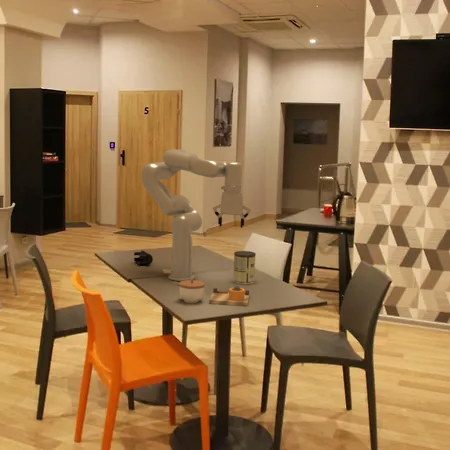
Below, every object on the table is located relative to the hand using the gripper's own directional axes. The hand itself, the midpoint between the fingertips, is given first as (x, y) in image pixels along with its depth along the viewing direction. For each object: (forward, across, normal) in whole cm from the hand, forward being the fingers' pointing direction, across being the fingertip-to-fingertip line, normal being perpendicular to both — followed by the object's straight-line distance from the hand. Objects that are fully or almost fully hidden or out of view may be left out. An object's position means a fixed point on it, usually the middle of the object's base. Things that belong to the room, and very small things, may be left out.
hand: (231, 226), depth 291 cm
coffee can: (+28, +6, +12) cm, 32 cm away
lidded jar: (+28, -13, -28) cm, 42 cm away
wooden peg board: (+28, +3, -23) cm, 37 cm away
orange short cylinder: (+27, +6, -25) cm, 37 cm away
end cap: (+29, -49, +35) cm, 67 cm away
